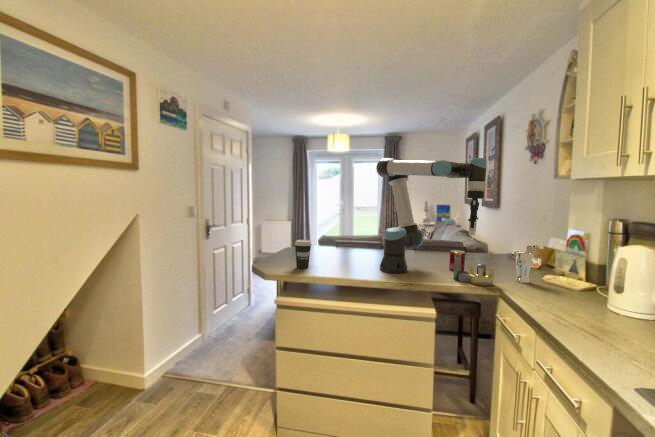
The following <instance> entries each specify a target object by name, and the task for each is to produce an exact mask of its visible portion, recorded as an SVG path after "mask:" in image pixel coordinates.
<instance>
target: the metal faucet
mask: <svg viewBox="0 0 655 437" xmlns="http://www.w3.org/2000/svg"><path fill="white" fill-rule="evenodd" d="M454 255H455V260H454V271H453V278H452V279H453V280H457V281H464V282H465V281H466V282H468V283H469V284H472V285H476V286H481V287H491V286H492V287H493V286H494V279H495V278H494V277H495V267H489V270H488V271H489V273H487V264H484V263H477V264H476V271H474V269H475V266H474V264H469V265H468V273H462V272H460V267H461V255H462V253H461V252H455V253H454Z"/></svg>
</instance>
